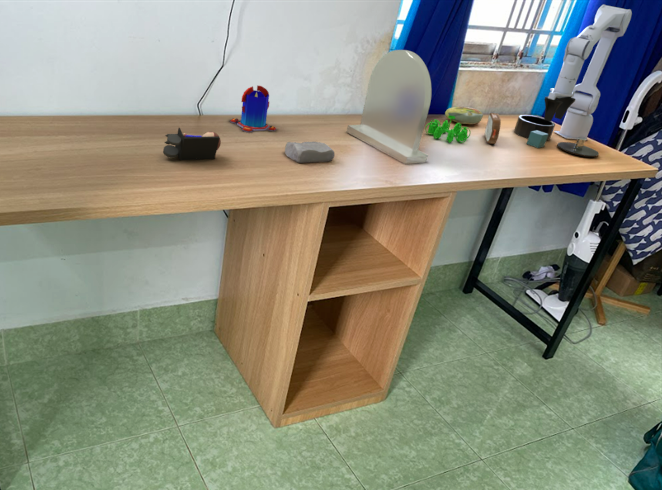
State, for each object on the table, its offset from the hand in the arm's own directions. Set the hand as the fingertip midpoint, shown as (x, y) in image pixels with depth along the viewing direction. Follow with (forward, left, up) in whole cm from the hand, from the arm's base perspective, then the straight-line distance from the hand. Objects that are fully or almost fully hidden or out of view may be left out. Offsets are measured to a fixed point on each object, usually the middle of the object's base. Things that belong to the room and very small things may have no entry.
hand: (552, 119), depth 206 cm
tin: (+19, -3, -10) cm, 22 cm away
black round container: (-4, -13, -9) cm, 16 cm away
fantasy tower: (+101, -1, -10) cm, 102 cm away
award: (+62, +11, -10) cm, 64 cm away
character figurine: (+123, +30, -10) cm, 127 cm away
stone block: (+90, +24, -10) cm, 94 cm away
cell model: (+19, -23, -10) cm, 31 cm away
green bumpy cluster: (+35, -3, -10) cm, 37 cm away
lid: (-11, +3, -9) cm, 15 cm away
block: (+2, -1, -9) cm, 10 cm away
